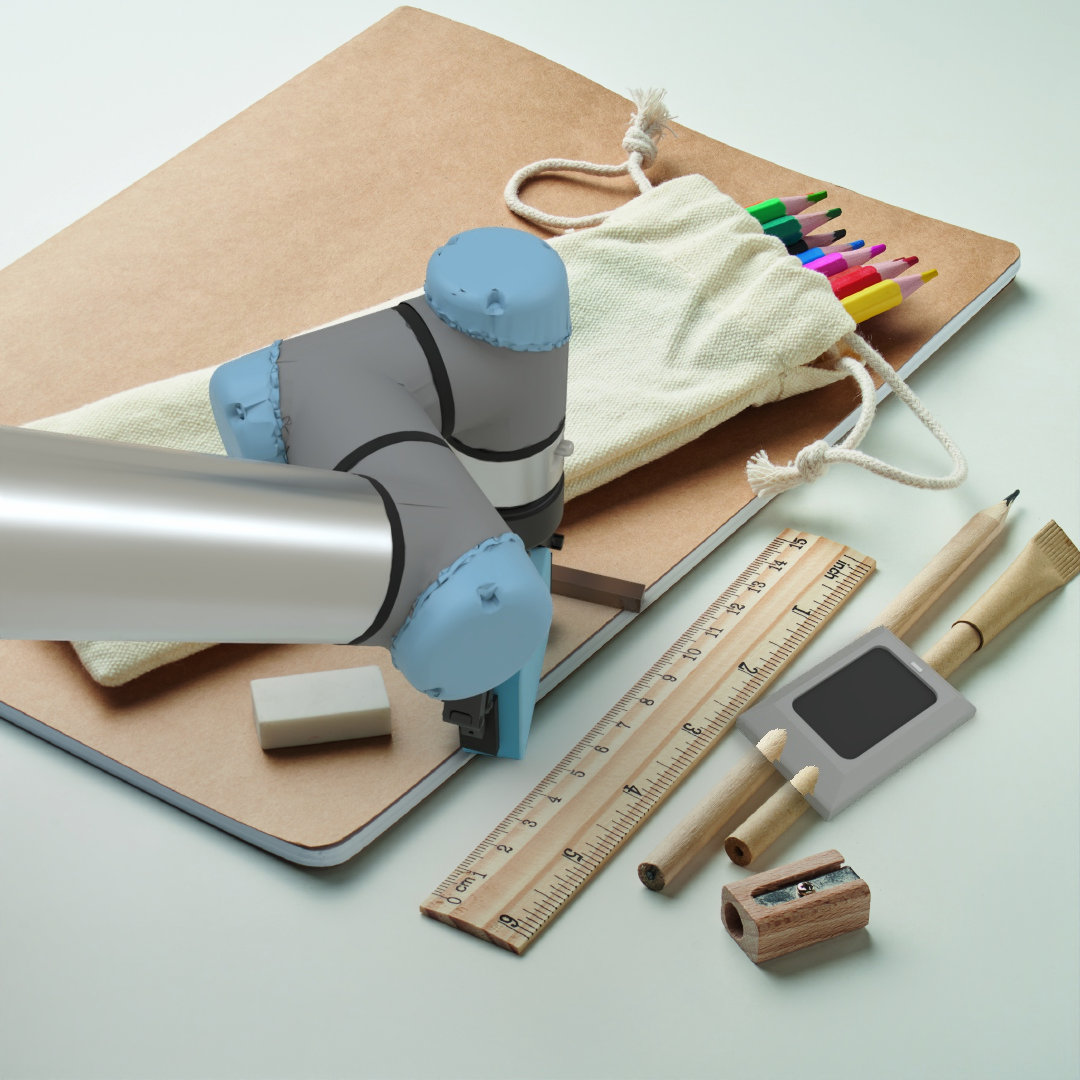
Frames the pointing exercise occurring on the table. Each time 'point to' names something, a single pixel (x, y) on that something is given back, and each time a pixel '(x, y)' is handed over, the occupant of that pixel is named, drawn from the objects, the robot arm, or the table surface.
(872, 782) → the grey badge holder
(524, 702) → the light blue thick block
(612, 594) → the bar
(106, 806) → the table surface
